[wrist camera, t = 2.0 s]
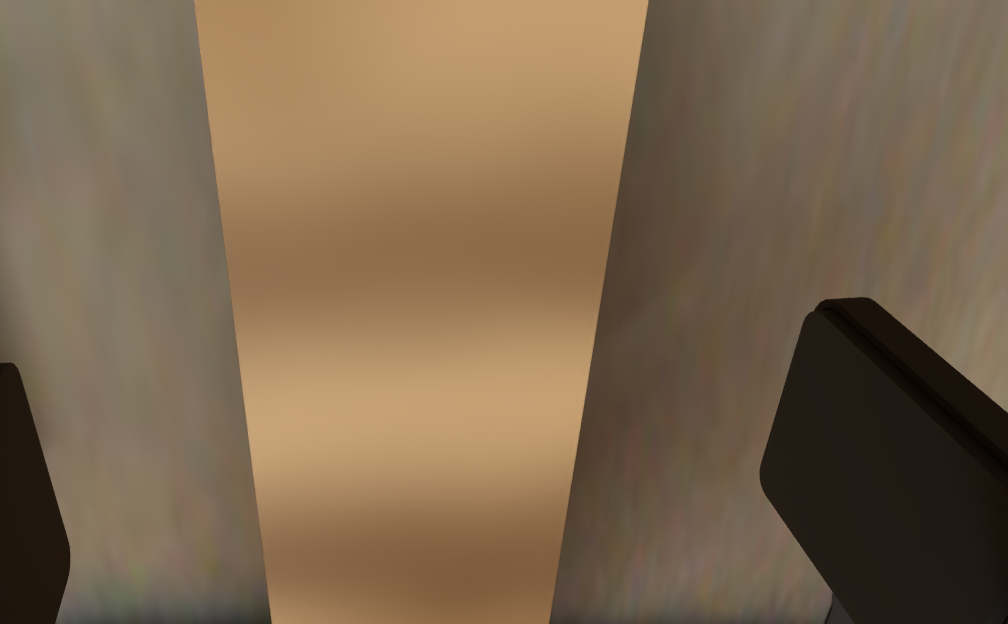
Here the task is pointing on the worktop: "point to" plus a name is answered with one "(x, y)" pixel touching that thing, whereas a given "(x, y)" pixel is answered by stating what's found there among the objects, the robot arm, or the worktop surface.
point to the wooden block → (416, 286)
